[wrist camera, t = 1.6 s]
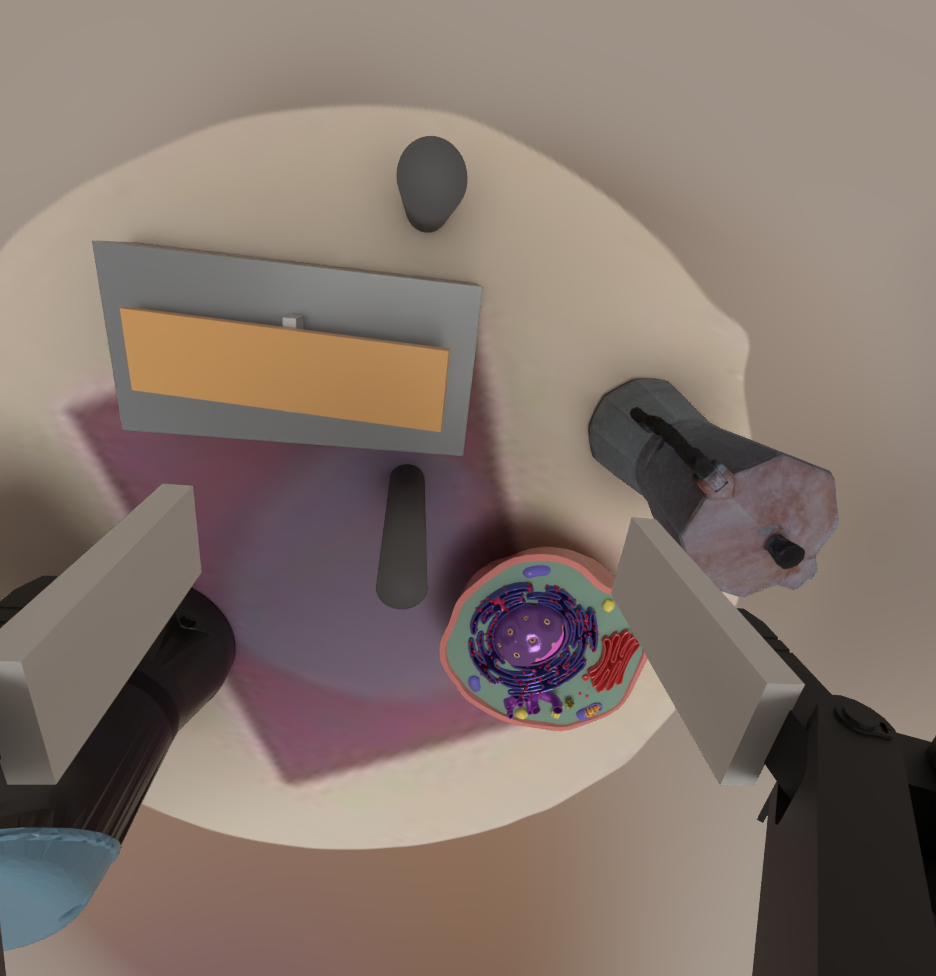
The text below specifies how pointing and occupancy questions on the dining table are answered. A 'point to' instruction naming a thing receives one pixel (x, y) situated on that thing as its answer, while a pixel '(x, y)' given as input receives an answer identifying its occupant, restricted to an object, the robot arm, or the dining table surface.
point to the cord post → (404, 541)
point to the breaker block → (294, 304)
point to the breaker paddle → (286, 368)
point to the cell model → (542, 641)
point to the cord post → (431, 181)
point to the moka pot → (717, 489)
